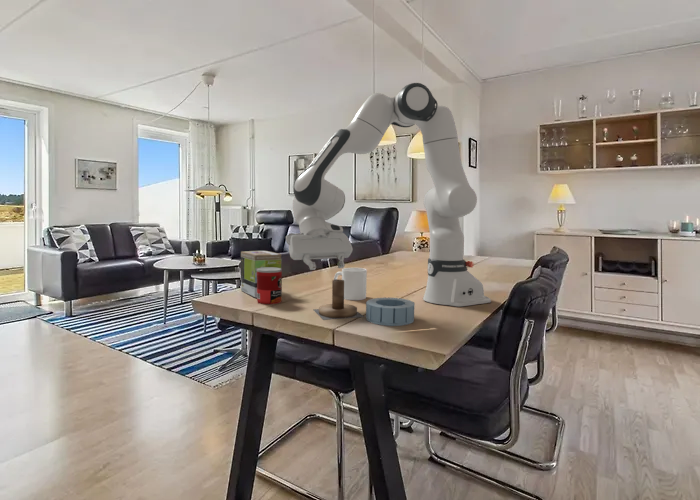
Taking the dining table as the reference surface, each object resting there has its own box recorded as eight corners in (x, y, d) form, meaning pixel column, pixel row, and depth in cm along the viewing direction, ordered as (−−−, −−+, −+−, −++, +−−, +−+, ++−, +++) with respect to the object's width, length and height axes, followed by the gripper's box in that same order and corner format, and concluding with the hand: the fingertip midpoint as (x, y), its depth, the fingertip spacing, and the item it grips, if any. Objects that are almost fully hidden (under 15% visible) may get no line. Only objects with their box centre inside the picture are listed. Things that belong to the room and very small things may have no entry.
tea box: (282, 295, 146) (282, 253, 144) (254, 298, 140) (254, 254, 139) (266, 288, 158) (265, 249, 157) (240, 290, 153) (239, 250, 151)
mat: (351, 308, 129) (351, 307, 129) (364, 318, 117) (364, 316, 117) (312, 310, 125) (312, 309, 125) (323, 321, 114) (323, 319, 113)
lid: (350, 307, 128) (350, 276, 127) (362, 316, 118) (362, 283, 117) (314, 309, 125) (315, 278, 124) (324, 319, 114) (324, 284, 113)
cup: (359, 302, 137) (360, 271, 136) (327, 298, 142) (328, 268, 141) (370, 297, 144) (370, 268, 143) (339, 294, 149) (339, 266, 148)
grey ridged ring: (401, 313, 124) (401, 296, 123) (422, 325, 111) (422, 306, 111) (359, 316, 120) (360, 298, 119) (377, 328, 107) (377, 309, 107)
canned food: (274, 306, 130) (274, 271, 129) (252, 304, 132) (251, 269, 131) (286, 301, 137) (286, 268, 136) (264, 299, 139) (264, 266, 138)
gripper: (286, 226, 126) (298, 263, 119) (346, 226, 136) (360, 259, 128) (281, 240, 131) (292, 276, 123) (340, 239, 140) (353, 272, 133)
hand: (327, 267), depth 126 cm, fingers open, 8 cm apart
